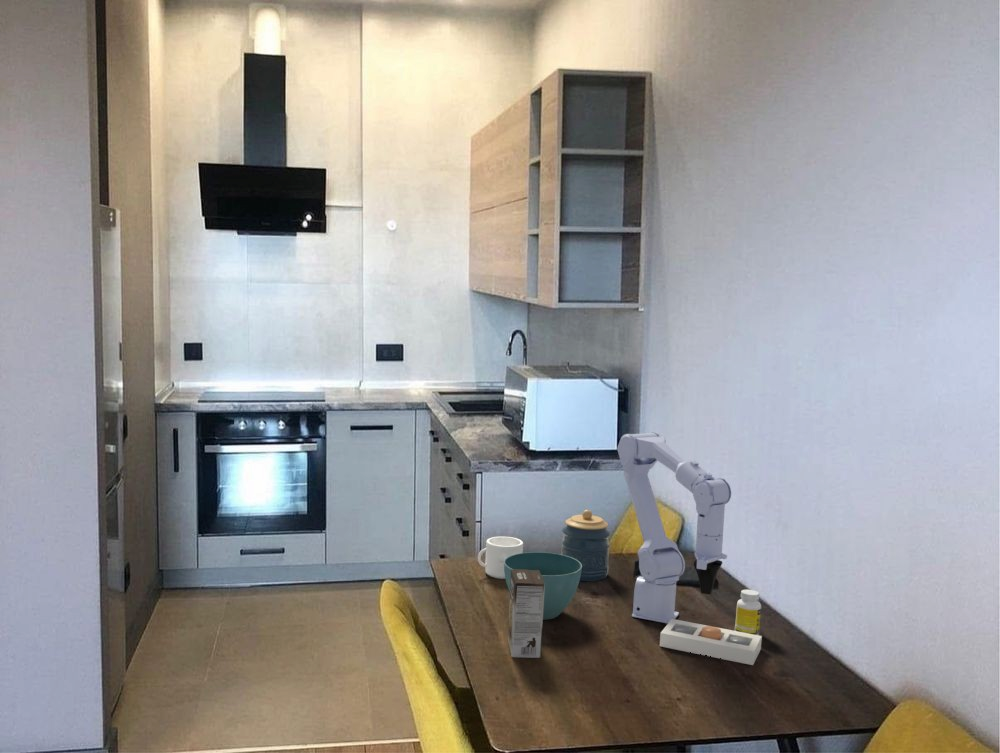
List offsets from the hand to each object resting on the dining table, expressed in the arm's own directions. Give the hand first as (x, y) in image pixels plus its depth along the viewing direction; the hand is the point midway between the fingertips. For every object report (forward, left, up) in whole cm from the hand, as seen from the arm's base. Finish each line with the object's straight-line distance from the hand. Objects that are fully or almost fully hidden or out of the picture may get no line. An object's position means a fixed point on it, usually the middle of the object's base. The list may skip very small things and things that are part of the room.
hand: (706, 593), depth 214 cm
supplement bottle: (+8, +8, -11) cm, 16 cm away
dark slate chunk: (-17, +41, -11) cm, 45 cm away
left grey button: (-3, -5, -10) cm, 12 cm away
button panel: (+3, -5, -10) cm, 12 cm away
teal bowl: (-37, -5, -11) cm, 39 cm away
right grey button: (+9, -5, -10) cm, 14 cm away
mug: (-57, +16, -11) cm, 61 cm away
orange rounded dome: (+3, -5, -9) cm, 11 cm away
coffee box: (-32, -27, -11) cm, 43 cm away
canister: (-38, +29, -11) cm, 49 cm away
